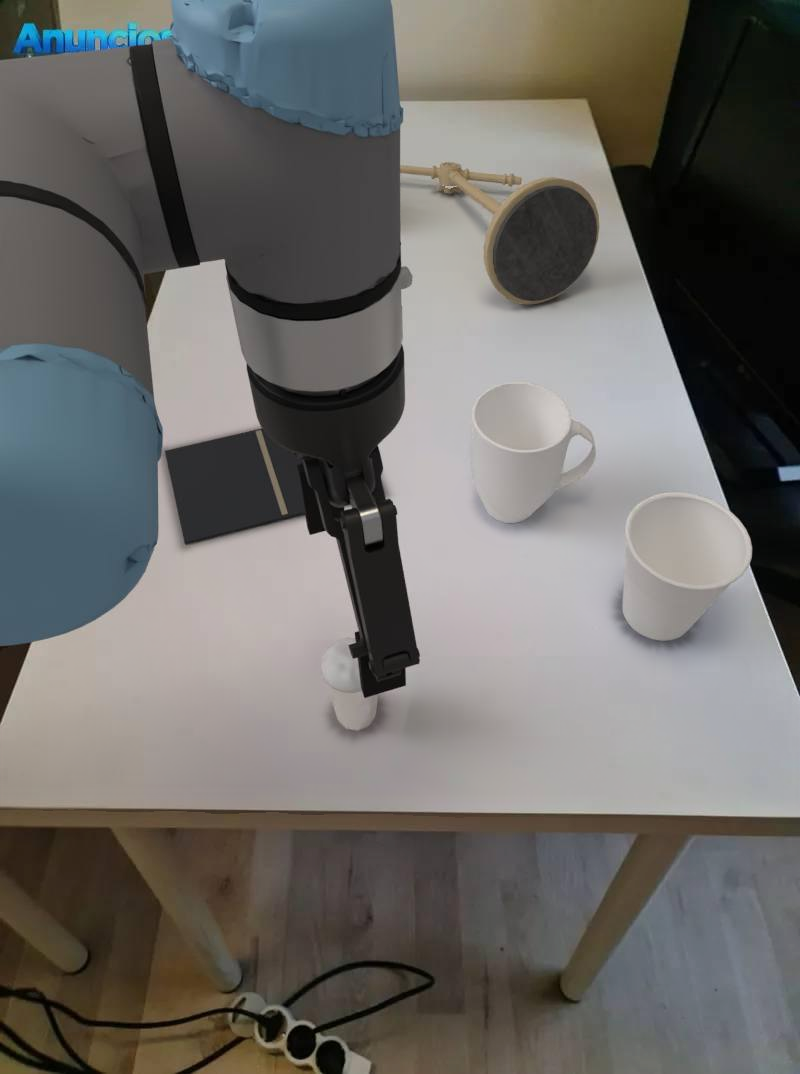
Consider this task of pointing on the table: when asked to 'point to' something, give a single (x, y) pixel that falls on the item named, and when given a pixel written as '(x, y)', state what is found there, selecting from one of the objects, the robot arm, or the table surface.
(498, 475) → the mug
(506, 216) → the desk lamp
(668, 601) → the cup
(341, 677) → the milkshake
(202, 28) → the robot arm
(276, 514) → the desk mat
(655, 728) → the table surface
